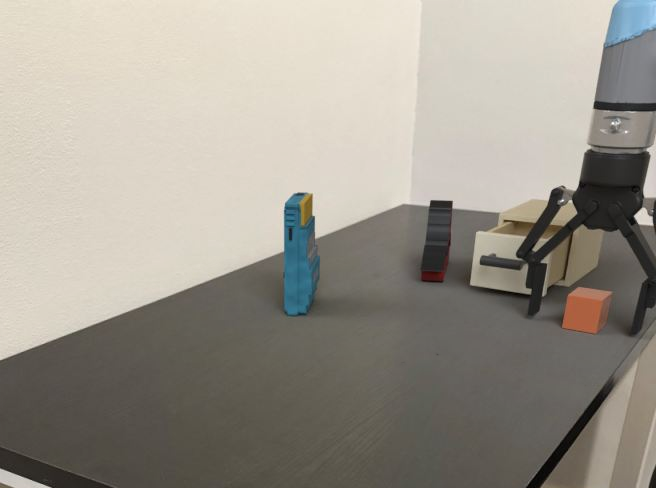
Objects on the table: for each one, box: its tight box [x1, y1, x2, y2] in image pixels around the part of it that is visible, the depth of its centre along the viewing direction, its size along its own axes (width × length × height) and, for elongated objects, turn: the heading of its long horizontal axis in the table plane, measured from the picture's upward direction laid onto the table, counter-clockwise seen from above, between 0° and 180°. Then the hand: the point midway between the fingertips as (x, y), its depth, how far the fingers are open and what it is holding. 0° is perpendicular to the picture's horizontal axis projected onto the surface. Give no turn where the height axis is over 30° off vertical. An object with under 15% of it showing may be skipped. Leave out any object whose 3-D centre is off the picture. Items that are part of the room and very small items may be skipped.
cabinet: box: [497, 198, 605, 288], centre depth 128 cm, size 15×13×10 cm
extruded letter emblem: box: [420, 199, 454, 282], centre depth 128 cm, size 18×4×11 cm, turn 165°
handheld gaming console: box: [283, 191, 321, 317], centre depth 112 cm, size 10×4×15 cm, turn 169°
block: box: [561, 286, 613, 335], centre depth 105 cm, size 4×4×4 cm
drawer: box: [469, 220, 573, 298], centre depth 119 cm, size 18×11×8 cm, turn 144°
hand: (582, 322), depth 106 cm, fingers open, 13 cm apart
